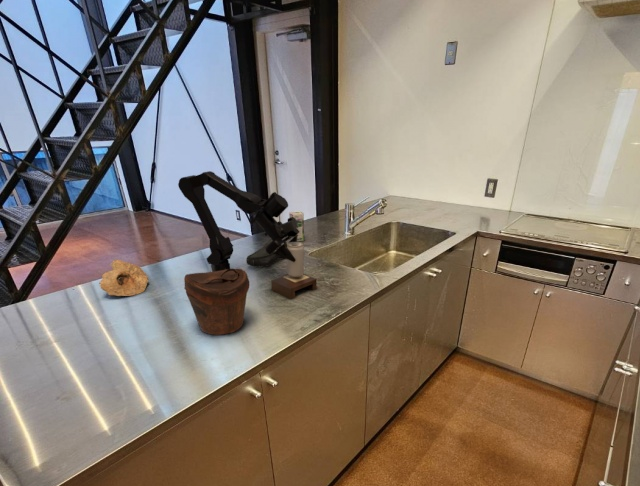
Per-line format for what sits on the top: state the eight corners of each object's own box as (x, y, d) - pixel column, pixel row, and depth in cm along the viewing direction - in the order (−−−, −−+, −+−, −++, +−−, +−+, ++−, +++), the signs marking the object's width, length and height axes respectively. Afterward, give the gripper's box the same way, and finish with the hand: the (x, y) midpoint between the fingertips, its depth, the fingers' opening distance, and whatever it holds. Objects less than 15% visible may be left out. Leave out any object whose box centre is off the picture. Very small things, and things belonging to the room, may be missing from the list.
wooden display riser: (290, 298, 136) (290, 288, 134) (271, 290, 142) (270, 279, 140) (316, 288, 144) (316, 278, 142) (297, 280, 151) (296, 270, 149)
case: (263, 314, 125) (259, 263, 116) (233, 345, 108) (225, 288, 99) (215, 307, 129) (208, 257, 120) (179, 335, 112) (167, 279, 103)
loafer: (241, 268, 161) (239, 245, 156) (281, 250, 184) (280, 229, 179) (260, 273, 157) (259, 249, 152) (298, 253, 180) (298, 232, 175)
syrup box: (294, 242, 196) (293, 214, 189) (290, 239, 200) (289, 211, 193) (304, 240, 198) (303, 213, 191) (299, 237, 203) (299, 210, 196)
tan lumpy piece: (143, 310, 139) (143, 296, 134) (98, 305, 134) (96, 290, 128) (151, 277, 150) (151, 262, 145) (109, 271, 145) (108, 256, 140)
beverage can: (285, 277, 140) (284, 245, 134) (288, 270, 146) (287, 240, 140) (302, 278, 140) (302, 246, 134) (304, 271, 145) (304, 241, 140)
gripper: (271, 216, 124) (303, 253, 127) (294, 205, 140) (321, 238, 143) (252, 237, 130) (282, 271, 133) (275, 224, 146) (302, 255, 149)
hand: (298, 258), depth 139 cm, fingers closed on beverage can, 6 cm apart
